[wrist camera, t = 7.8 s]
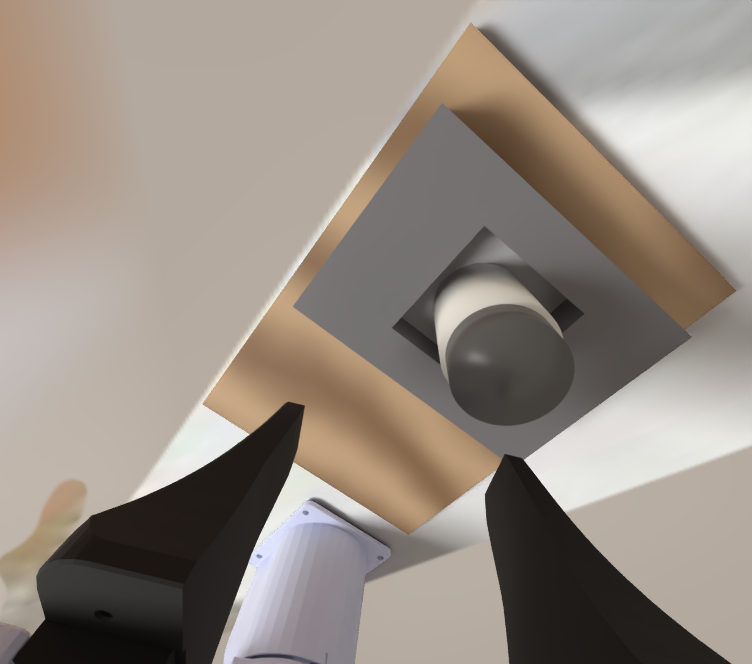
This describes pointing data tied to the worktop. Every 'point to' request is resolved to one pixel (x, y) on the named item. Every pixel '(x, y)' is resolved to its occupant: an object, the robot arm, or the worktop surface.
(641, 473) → the worktop surface
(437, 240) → the grey square frame plate
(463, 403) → the cylinder
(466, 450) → the board
